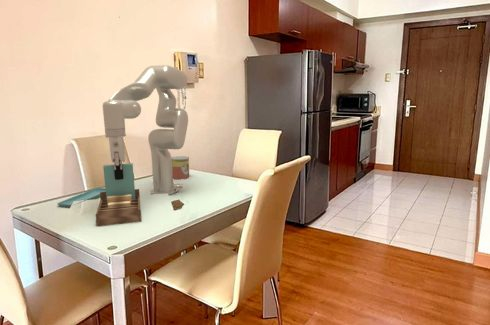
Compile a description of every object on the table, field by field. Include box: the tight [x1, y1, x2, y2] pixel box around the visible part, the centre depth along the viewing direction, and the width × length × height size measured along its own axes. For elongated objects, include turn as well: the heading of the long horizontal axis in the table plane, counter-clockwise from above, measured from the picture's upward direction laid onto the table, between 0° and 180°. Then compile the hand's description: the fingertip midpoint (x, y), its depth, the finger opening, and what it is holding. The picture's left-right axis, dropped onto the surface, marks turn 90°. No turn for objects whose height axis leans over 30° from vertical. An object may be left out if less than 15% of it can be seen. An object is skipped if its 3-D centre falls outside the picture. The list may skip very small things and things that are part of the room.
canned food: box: [171, 155, 190, 181], centre depth 204 cm, size 11×11×12 cm
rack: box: [95, 188, 142, 227], centre depth 134 cm, size 15×20×9 cm
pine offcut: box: [108, 201, 131, 208], centre depth 133 cm, size 8×2×6 cm, turn 108°
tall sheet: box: [102, 162, 136, 200], centre depth 140 cm, size 11×2×16 cm, turn 108°
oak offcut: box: [107, 194, 132, 205], centre depth 136 cm, size 9×2×7 cm, turn 108°
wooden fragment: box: [170, 198, 185, 211], centre depth 148 cm, size 26×11×1 cm, turn 166°
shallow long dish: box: [57, 187, 106, 209], centre depth 162 cm, size 26×9×2 cm, turn 165°
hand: (119, 178), depth 139 cm, fingers closed on tall sheet, 2 cm apart
